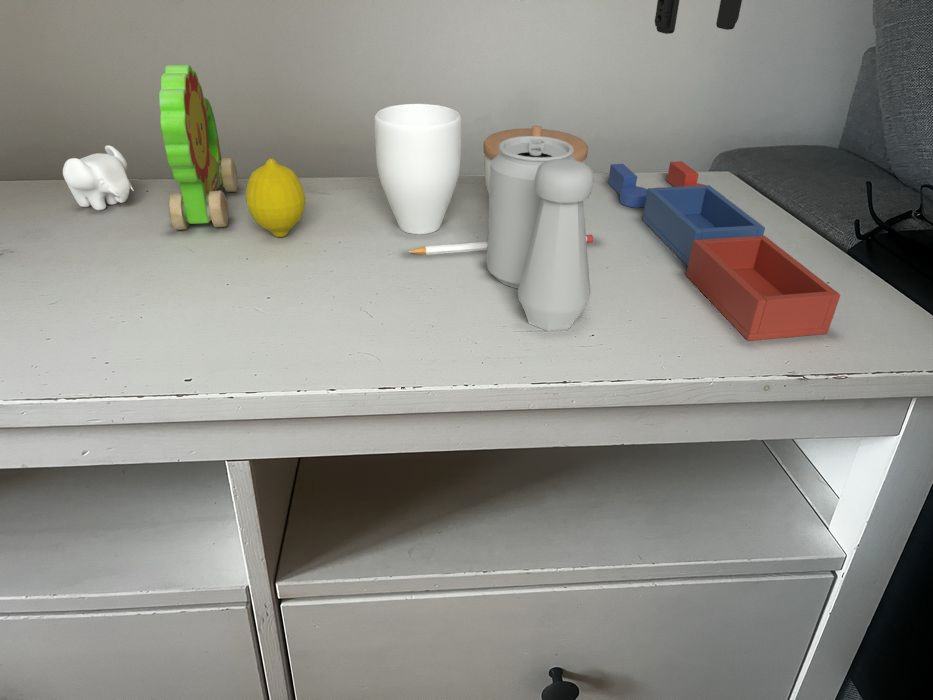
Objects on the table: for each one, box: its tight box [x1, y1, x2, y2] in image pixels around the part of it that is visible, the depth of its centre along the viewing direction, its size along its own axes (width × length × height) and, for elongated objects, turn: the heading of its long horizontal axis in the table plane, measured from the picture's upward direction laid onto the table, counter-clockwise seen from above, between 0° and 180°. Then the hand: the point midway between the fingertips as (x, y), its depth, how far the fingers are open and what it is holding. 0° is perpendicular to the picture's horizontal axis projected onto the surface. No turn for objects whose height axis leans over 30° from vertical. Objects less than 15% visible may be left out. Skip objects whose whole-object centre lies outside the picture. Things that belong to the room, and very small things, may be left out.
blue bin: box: [642, 184, 766, 267], centre depth 72 cm, size 7×11×4 cm, turn 10°
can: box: [486, 136, 576, 289], centre depth 63 cm, size 8×8×12 cm
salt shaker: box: [517, 159, 595, 332], centre depth 56 cm, size 6×6×13 cm
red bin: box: [685, 235, 841, 341], centre depth 61 cm, size 7×11×4 cm, turn 10°
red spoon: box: [666, 160, 706, 187], centre depth 84 cm, size 8×3×2 cm, turn 10°
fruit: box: [245, 156, 306, 238], centre depth 70 cm, size 6×6×8 cm
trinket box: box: [482, 125, 589, 193], centre depth 76 cm, size 11×11×9 cm
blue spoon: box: [607, 163, 648, 209], centre depth 83 cm, size 8×3×2 cm, turn 10°
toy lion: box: [158, 64, 239, 231], centre depth 73 cm, size 16×5×15 cm, turn 9°
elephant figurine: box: [62, 145, 135, 211], centre depth 76 cm, size 7×8×6 cm
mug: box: [373, 103, 462, 235], centre depth 73 cm, size 12×8×11 cm
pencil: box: [408, 234, 594, 256], centre depth 71 cm, size 1×19×1 cm, turn 102°
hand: (695, 30), depth 80 cm, fingers open, 8 cm apart
